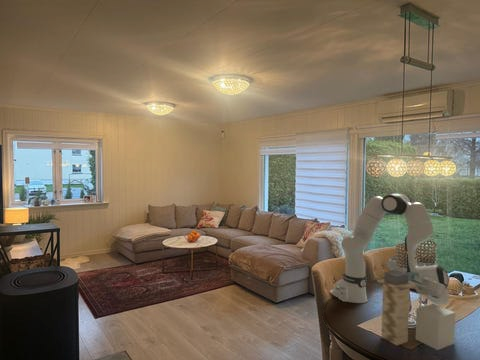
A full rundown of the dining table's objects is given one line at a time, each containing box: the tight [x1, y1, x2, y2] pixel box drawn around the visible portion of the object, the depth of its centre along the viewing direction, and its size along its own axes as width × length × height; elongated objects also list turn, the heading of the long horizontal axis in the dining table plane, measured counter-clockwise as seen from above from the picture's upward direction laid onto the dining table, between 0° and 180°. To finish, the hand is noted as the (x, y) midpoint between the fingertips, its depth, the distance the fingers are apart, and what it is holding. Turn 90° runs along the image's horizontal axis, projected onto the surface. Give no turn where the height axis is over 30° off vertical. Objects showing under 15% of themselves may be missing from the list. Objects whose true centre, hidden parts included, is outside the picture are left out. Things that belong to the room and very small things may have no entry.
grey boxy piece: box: [384, 270, 419, 285], centre depth 149 cm, size 6×18×4 cm, turn 118°
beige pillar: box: [377, 277, 416, 346], centre depth 147 cm, size 12×10×26 cm
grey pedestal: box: [415, 303, 456, 351], centre depth 146 cm, size 10×12×14 cm
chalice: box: [387, 257, 403, 272], centre depth 226 cm, size 14×14×15 cm
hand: (409, 275), depth 151 cm, fingers closed on grey boxy piece, 3 cm apart
